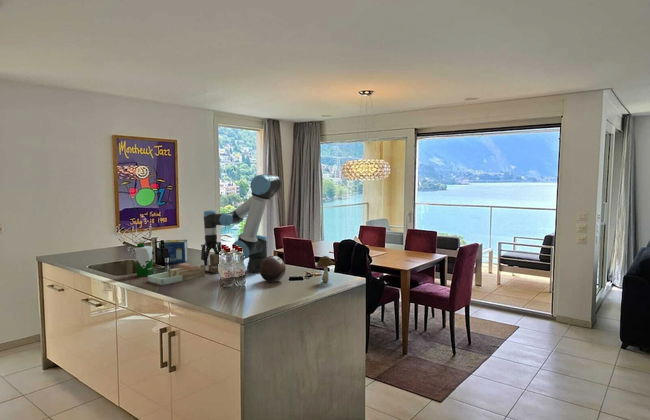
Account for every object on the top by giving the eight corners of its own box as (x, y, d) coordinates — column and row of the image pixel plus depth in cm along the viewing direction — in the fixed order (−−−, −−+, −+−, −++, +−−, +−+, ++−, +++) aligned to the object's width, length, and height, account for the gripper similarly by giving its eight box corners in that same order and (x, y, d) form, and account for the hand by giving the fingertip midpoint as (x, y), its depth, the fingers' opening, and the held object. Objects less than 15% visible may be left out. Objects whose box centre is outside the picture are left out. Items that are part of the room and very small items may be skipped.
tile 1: (198, 269, 255) (198, 265, 255) (191, 270, 251) (191, 267, 251) (194, 268, 258) (194, 265, 257) (187, 269, 254) (187, 266, 254)
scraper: (224, 270, 268) (223, 255, 268) (215, 272, 263) (214, 257, 262) (210, 267, 279) (209, 253, 278) (200, 270, 273) (199, 254, 272)
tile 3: (188, 267, 261) (188, 263, 261) (182, 268, 258) (182, 265, 258) (185, 266, 264) (184, 263, 264) (178, 267, 261) (178, 264, 261)
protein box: (166, 260, 310) (165, 240, 308) (188, 260, 311) (187, 239, 310) (162, 263, 299) (161, 242, 298) (185, 262, 301) (184, 241, 300)
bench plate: (204, 275, 258) (204, 268, 258) (182, 280, 246) (181, 272, 246) (191, 272, 268) (190, 265, 268) (168, 277, 256) (168, 269, 256)
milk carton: (143, 273, 268) (141, 242, 267) (155, 273, 267) (154, 242, 265) (134, 276, 260) (132, 244, 258) (147, 277, 258) (145, 245, 256)
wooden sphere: (281, 285, 232) (280, 258, 231) (256, 284, 235) (255, 258, 234) (288, 278, 247) (288, 253, 246) (264, 278, 250) (263, 253, 249)
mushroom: (338, 280, 240) (337, 255, 239) (326, 285, 231) (325, 258, 230) (325, 278, 246) (325, 253, 245) (313, 282, 237) (312, 256, 236)
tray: (182, 281, 246) (182, 275, 246) (161, 285, 236) (161, 279, 236) (168, 277, 256) (168, 271, 256) (147, 281, 247) (147, 275, 246)
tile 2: (193, 268, 258) (193, 264, 258) (187, 269, 255) (186, 266, 255) (189, 267, 261) (189, 264, 261) (183, 268, 258) (183, 265, 257)
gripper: (220, 232, 279) (221, 265, 281) (193, 235, 264) (195, 271, 266) (227, 232, 274) (228, 267, 276) (200, 236, 259) (202, 272, 261)
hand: (212, 269), depth 271 cm, fingers closed on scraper, 7 cm apart
